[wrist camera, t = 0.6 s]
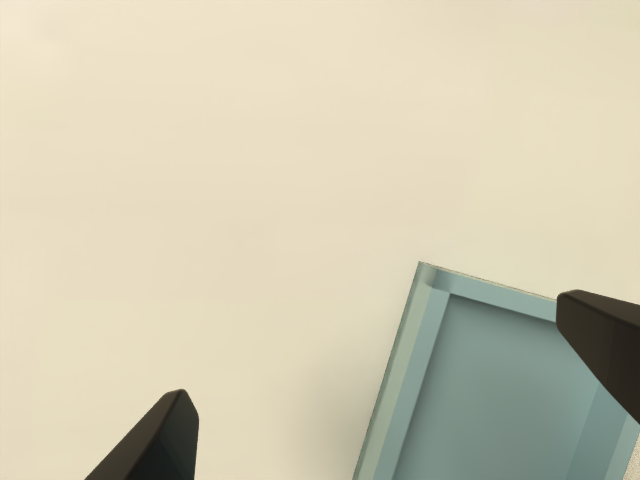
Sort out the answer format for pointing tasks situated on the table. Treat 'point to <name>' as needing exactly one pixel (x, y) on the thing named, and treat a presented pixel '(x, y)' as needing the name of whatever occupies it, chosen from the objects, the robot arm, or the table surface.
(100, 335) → the table surface
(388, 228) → the table surface
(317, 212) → the table surface
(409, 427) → the tray
